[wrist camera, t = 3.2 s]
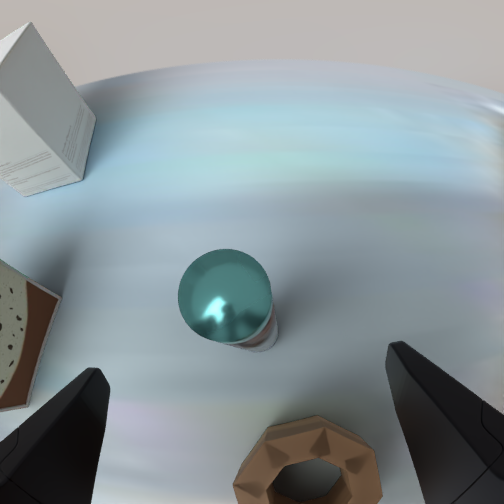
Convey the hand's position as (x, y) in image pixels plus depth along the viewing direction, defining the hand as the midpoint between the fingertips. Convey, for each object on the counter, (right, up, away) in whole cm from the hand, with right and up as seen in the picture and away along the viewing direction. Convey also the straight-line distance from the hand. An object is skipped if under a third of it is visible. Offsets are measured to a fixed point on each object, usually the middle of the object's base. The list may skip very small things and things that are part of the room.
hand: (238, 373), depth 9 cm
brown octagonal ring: (+4, -9, +6) cm, 12 cm away
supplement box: (-17, +12, +16) cm, 26 cm away
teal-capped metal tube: (+1, -1, +10) cm, 10 cm away
